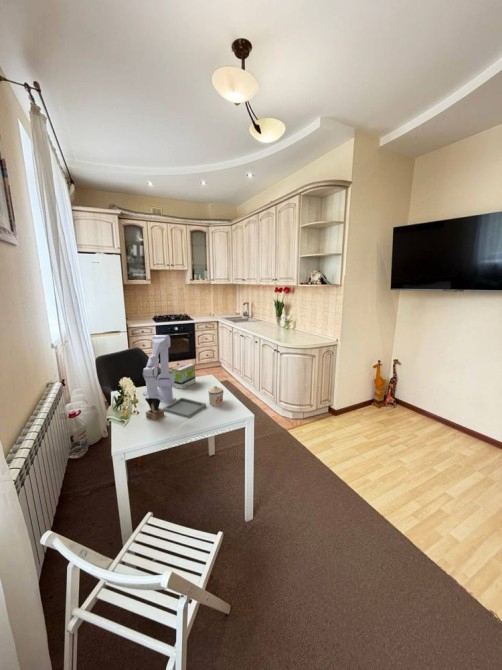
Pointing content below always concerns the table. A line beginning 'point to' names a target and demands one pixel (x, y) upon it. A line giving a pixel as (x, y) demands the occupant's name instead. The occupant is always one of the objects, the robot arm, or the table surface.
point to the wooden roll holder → (156, 415)
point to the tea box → (183, 375)
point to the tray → (184, 407)
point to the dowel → (153, 409)
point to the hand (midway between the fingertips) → (154, 409)
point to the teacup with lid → (215, 396)
